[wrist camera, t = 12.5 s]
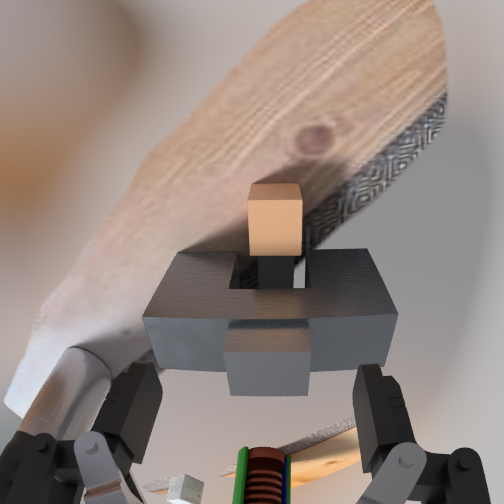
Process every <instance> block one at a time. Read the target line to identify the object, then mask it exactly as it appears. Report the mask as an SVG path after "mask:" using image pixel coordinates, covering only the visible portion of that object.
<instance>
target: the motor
mask: <svg viewBox="0 0 504 504" xmlns="http://www.w3.org/2000/svg"><path fill="white" fill-rule="evenodd" d="M290 486H291V456H287V458H284V453H283V452H282V451H280V450H278V449H276V448H271V447H256V448H251V449H249V450H248V447H244V448H242V449H241V450H240V451H239V453H238V461H237V469H236V478H235V486H234V495H233V503H232V504H290Z"/></svg>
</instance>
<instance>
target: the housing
mask: <svg viewBox="0 0 504 504" xmlns="http://www.w3.org/2000/svg"><path fill="white" fill-rule="evenodd" d="M397 317H398V312H397V310H396V308H395V305H394V304H393V301H392V299H391V297H390V295H389V292H388V290H387V288H386V286H385V284H384V282H383V280H382V278H381V276H380V274H379V272H378V270H377V267H376V265H375V263H374V261H373V260H372V258H371V255H370V254H369V251H368V249H367V248H366V249H320V250H306V260H305V288H293V289H241V285H240V274H239V264H238V253H237V251H232V252H188V253H177V254H176V256H175V257H174V259H173V261H172V263H171V265H170V266H169V268H168V270H167V272H166V273H165V275H164V277H163V279H162V281H161V282H160V284H159V286H158V288H157V290H156V291H155V293H154V295H153V297H152V299H151V301H150V303H149V304H148V306H147V308H146V310H145V312H144V314H143V316H142V319H143V322H144V325H145V328H146V331H147V334H148V337H149V340H150V343H151V346H152V349H153V352H154V355H155V358H156V360H157V363H158V366H159V368H167V369H180V370H195V371H215V372H227V377H228V383H229V388H230V394H231V395H232V396H307V395H308V387H309V376H310V372H318V371H337V370H353V369H358V367H359V365H364V364H376V363H378V364H379V365H380V367H384V365H385V362H386V358H387V355H388V351H389V348H390V344H391V340H392V337H393V333H394V329H395V325H396V321H397Z"/></svg>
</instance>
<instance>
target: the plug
mask: <svg viewBox="0 0 504 504" xmlns="http://www.w3.org/2000/svg"><path fill="white" fill-rule="evenodd" d="M247 205H248V225H249V245H250V256H258V281H259V289H293V282H294V281H293V280H294V256H297V255H301V245H302V196H301V192H300V187H299V183H267V184H252V185H251V188H250V192H249V196H248V200H247Z"/></svg>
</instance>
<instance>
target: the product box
mask: <svg viewBox="0 0 504 504" xmlns="http://www.w3.org/2000/svg"><path fill="white" fill-rule="evenodd" d="M203 486H204V483H203V482H202V481H199V480H197V479H195V478H193V477H190V476H188V475H186V474H183V475H179V476H175V477H172V479H171V483H170V487H169V490H168V495H167V498H166V500H167V501H169V502H171V503H174V504H200V502H201V497H202V492H203Z"/></svg>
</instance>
